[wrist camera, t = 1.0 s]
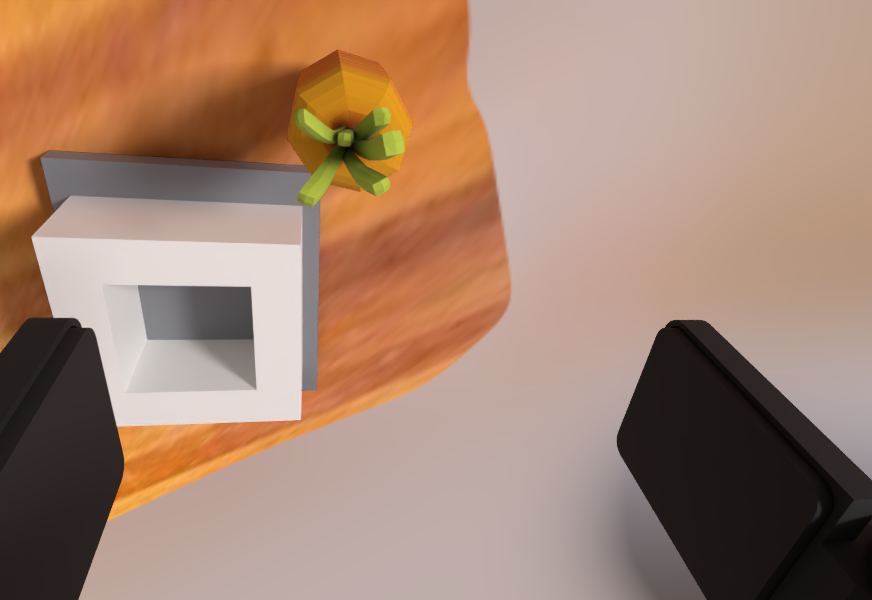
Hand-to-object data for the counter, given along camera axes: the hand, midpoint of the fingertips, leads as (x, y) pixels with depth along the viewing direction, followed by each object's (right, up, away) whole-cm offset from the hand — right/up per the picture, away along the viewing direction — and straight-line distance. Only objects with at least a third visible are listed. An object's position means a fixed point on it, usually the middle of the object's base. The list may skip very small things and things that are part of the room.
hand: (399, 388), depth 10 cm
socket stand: (-14, +3, +26) cm, 29 cm away
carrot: (-4, +14, +21) cm, 25 cm away
